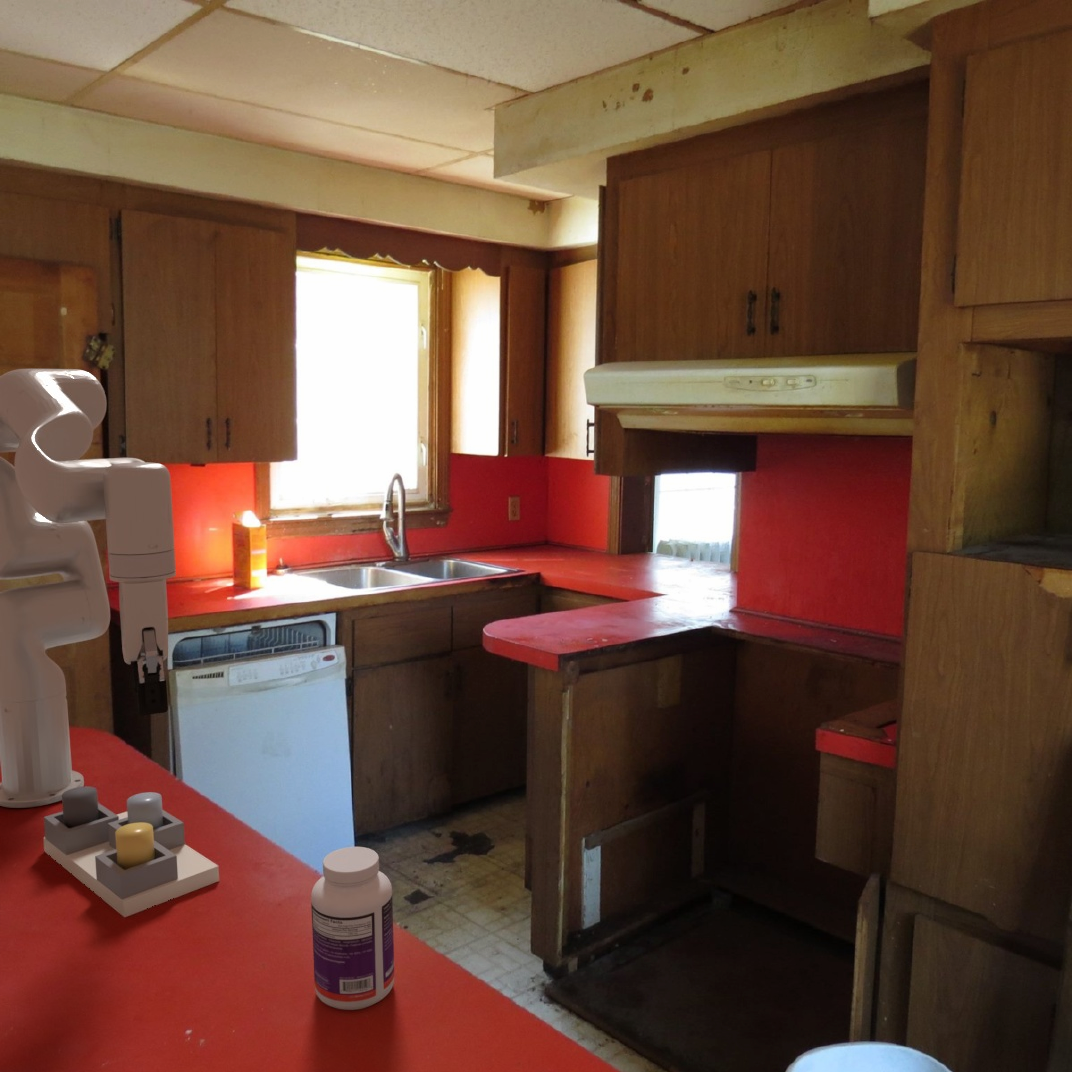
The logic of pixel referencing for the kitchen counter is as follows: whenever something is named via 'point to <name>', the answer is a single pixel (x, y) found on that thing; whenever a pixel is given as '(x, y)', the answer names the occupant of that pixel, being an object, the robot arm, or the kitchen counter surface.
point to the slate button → (145, 809)
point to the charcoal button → (80, 806)
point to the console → (137, 887)
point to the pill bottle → (352, 930)
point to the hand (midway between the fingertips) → (150, 701)
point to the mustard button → (134, 844)
